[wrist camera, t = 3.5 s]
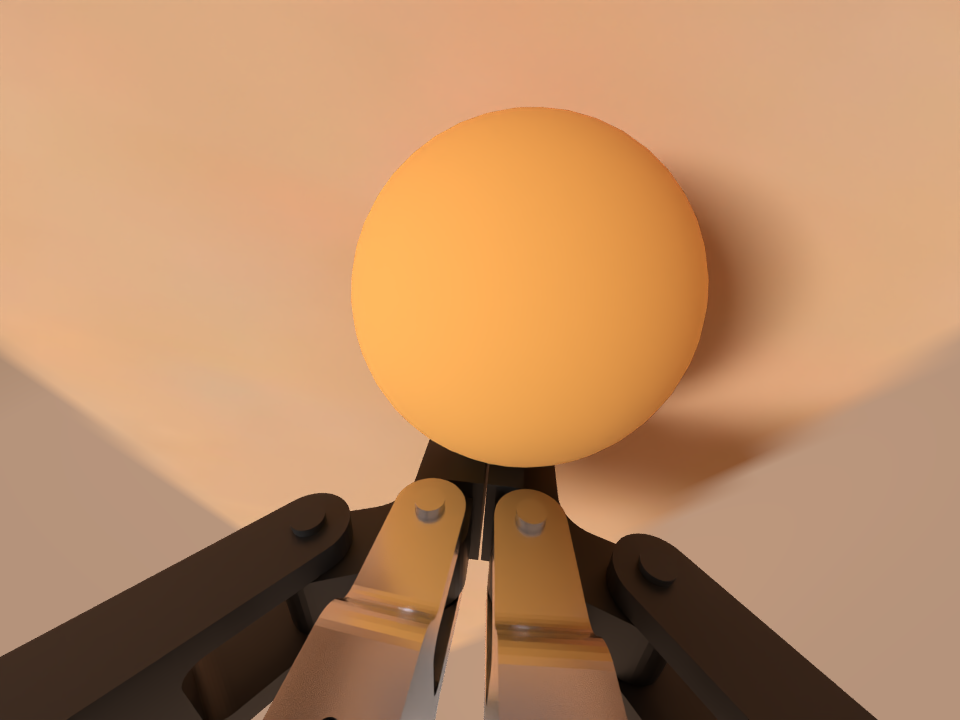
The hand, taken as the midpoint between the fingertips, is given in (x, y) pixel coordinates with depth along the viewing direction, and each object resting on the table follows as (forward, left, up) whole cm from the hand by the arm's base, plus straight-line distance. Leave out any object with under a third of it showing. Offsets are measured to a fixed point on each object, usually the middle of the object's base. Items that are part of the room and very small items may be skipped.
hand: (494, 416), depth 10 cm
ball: (-4, 0, +2) cm, 5 cm away
